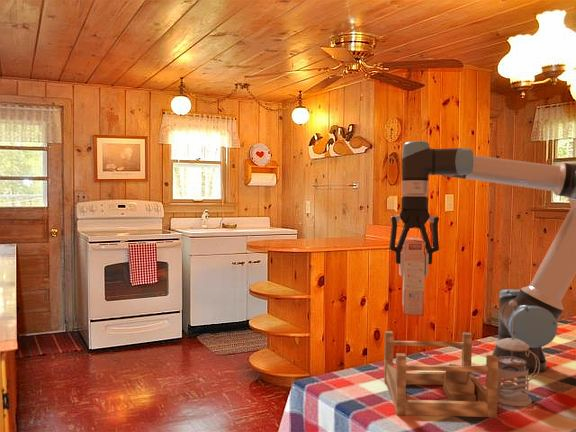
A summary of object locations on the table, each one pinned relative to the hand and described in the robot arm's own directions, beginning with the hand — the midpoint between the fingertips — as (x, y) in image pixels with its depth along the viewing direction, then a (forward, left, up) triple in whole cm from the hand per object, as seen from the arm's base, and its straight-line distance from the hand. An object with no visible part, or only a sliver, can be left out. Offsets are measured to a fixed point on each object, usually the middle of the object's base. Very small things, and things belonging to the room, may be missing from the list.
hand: (413, 275), depth 151 cm
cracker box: (0, 0, -11) cm, 11 cm away
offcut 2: (-8, +18, -26) cm, 33 cm away
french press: (-22, +19, -28) cm, 41 cm away
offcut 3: (-8, +19, -29) cm, 35 cm away
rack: (-2, +20, -28) cm, 35 cm away
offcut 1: (-8, +19, -24) cm, 31 cm away
